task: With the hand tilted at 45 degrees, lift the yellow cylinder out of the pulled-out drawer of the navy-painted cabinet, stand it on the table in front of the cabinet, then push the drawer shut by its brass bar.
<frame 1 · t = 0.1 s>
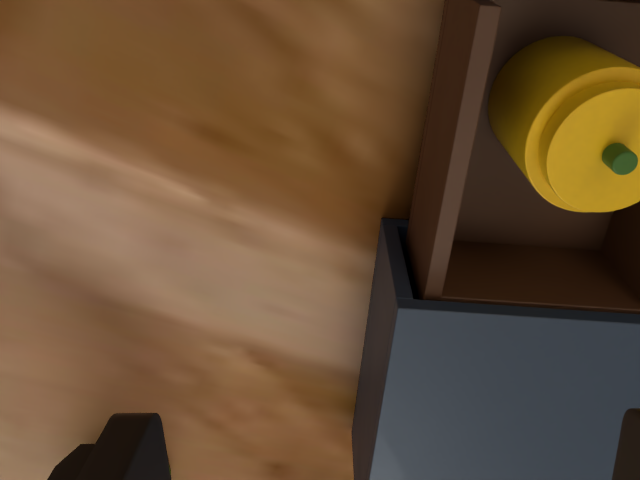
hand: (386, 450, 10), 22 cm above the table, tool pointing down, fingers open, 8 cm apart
drawer: (576, 82, 25), point 4 cm above the table, slide at 13.5 cm, touching yellow cylinder
yellow cylinder: (550, 100, 28), point 2 cm above the table, touching drawer
cabinet: (473, 343, 37), on the table
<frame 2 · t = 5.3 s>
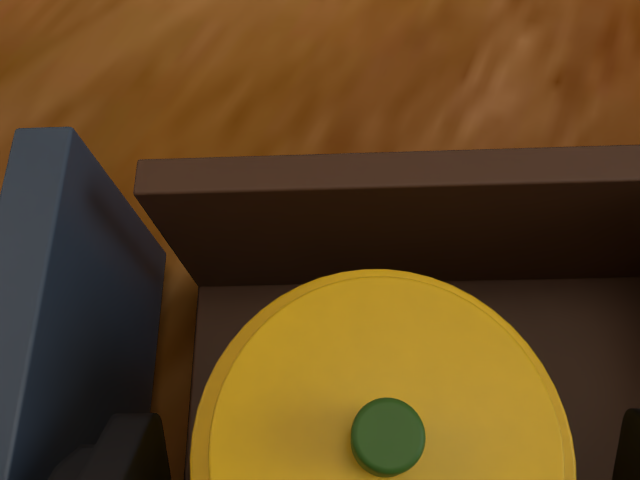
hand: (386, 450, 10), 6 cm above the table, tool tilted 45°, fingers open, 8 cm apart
drawer: (303, 462, 12), point 4 cm above the table, slide at 13.5 cm, touching gripper, yellow cylinder
yellow cylinder: (367, 466, 14), point 2 cm above the table, touching drawer
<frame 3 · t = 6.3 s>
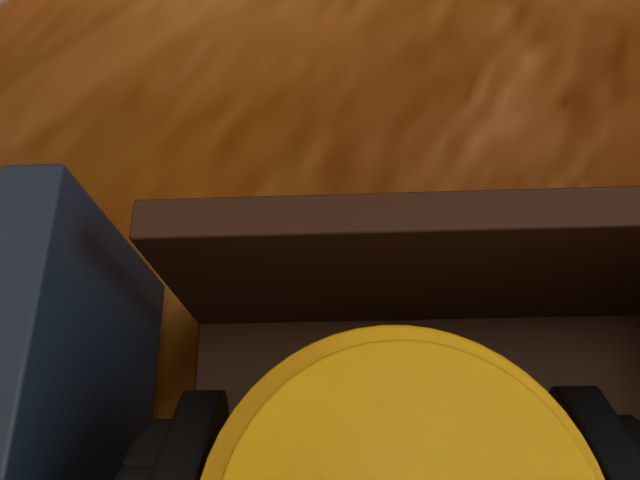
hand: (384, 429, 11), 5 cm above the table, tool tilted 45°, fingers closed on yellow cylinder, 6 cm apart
when the fingers open (3 cm above the table, at t = 15.1 s): yellow cylinder stays where it is, on the table.
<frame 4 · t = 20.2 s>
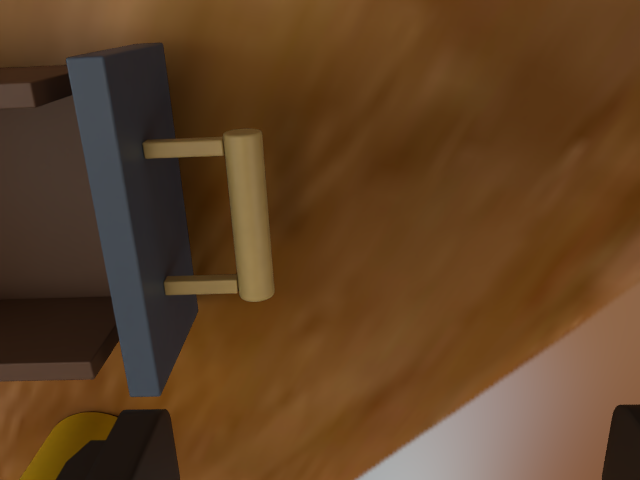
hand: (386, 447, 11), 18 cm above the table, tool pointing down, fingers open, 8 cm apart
drawer: (22, 217, 24), point 4 cm above the table, slide at 13.3 cm
yellow cylinder: (99, 454, 33), on the table
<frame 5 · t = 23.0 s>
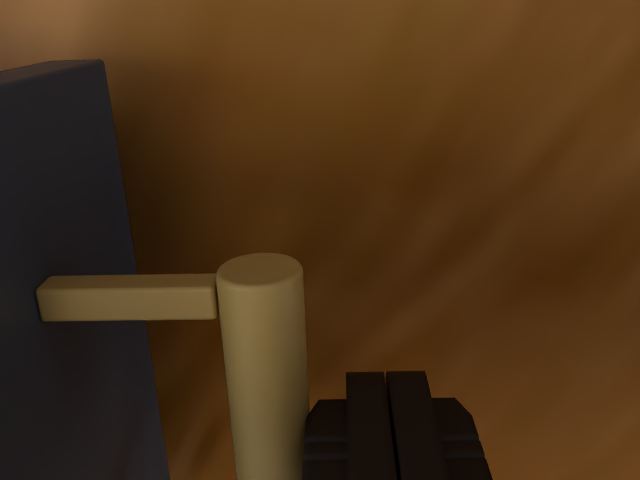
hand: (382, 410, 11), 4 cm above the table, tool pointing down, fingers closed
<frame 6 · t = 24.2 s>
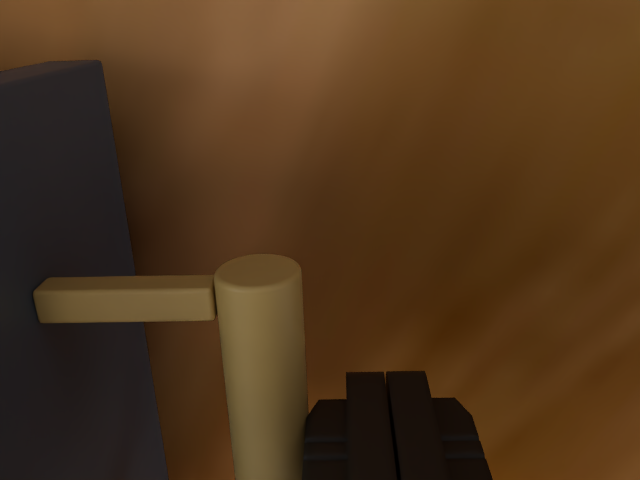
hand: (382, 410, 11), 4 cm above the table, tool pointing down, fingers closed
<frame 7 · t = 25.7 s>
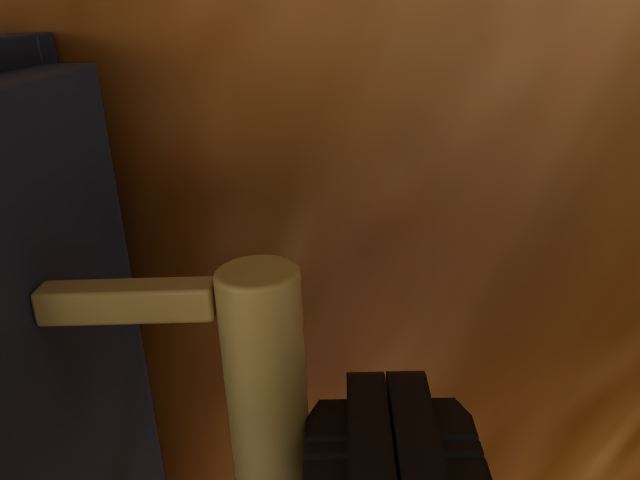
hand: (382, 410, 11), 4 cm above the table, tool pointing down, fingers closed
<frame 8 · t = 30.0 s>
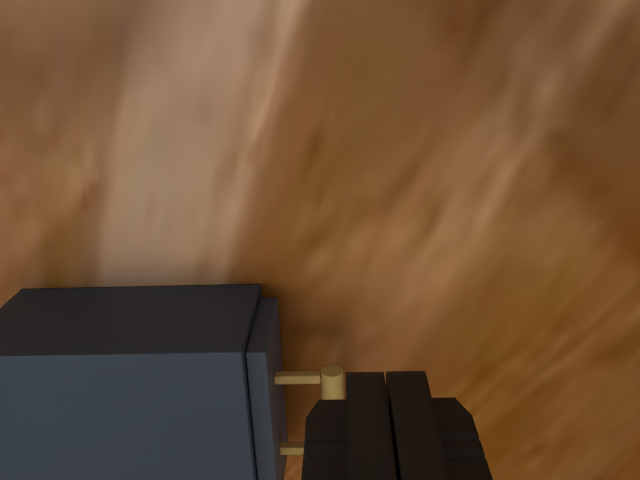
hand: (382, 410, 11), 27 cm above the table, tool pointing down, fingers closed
drawer: (193, 406, 39), point 4 cm above the table, slide at 0.0 cm
cabinet: (153, 370, 43), on the table
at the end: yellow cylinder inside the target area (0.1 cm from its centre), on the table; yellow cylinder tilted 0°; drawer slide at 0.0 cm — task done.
